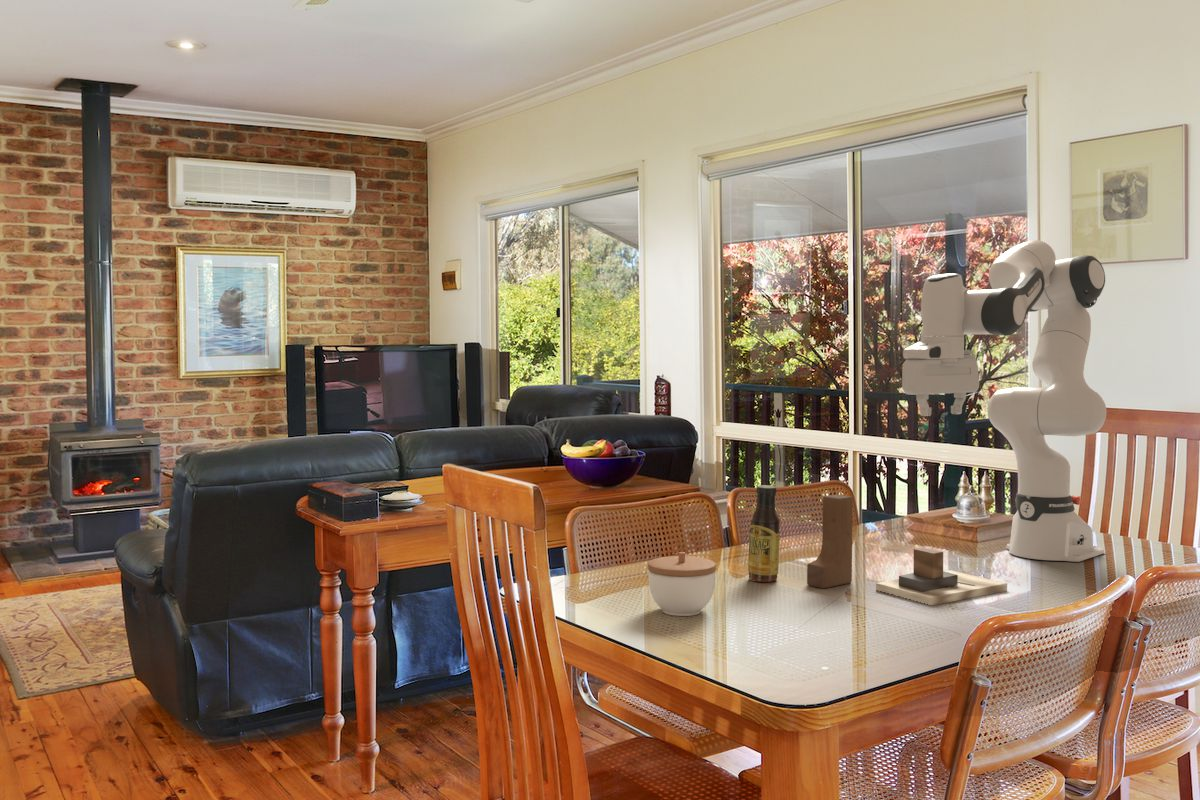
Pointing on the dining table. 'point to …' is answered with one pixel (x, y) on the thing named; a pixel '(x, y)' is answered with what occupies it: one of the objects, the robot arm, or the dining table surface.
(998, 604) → the dining table surface
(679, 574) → the lidded bowl
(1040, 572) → the dining table surface
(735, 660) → the dining table surface
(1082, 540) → the robot arm
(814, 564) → the wooden block
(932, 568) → the block
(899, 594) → the birch board
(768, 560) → the sauce bottle
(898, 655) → the dining table surface
